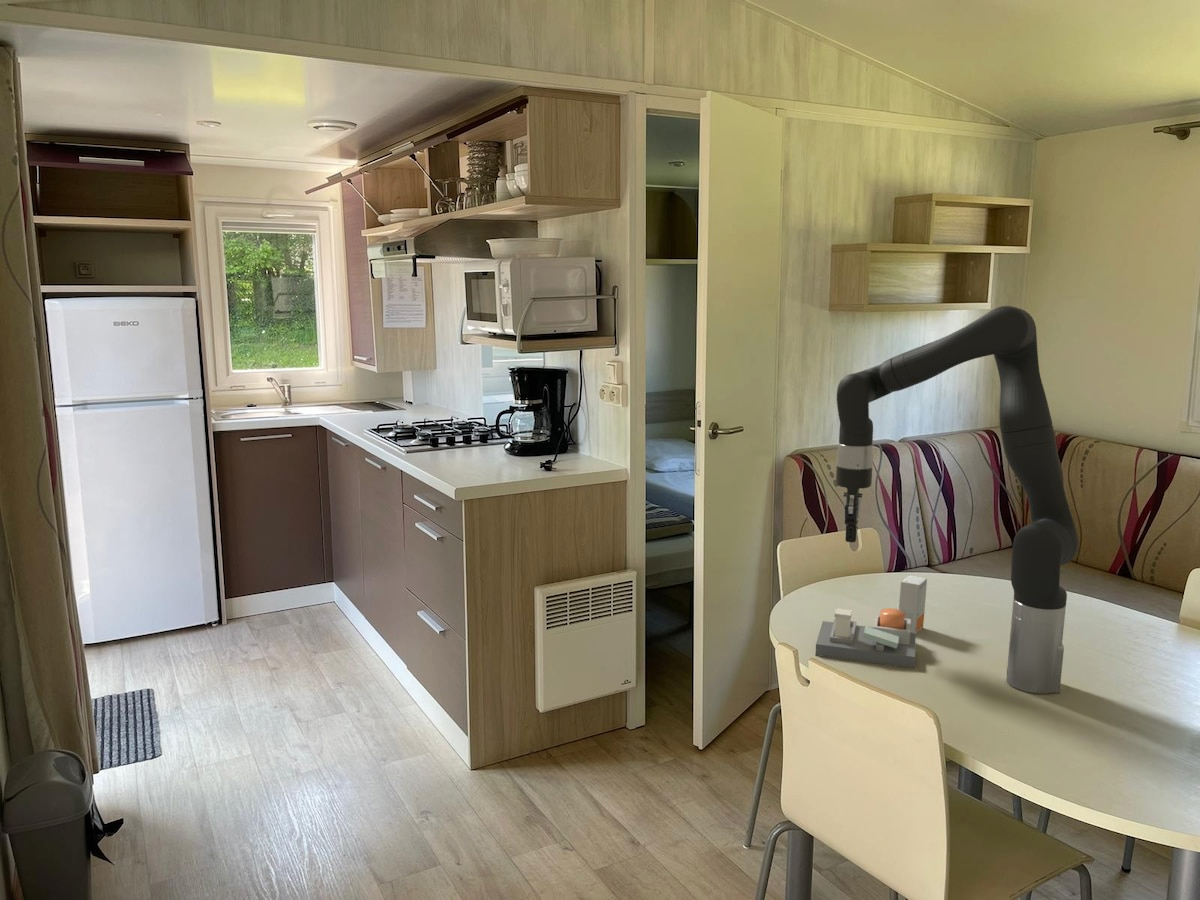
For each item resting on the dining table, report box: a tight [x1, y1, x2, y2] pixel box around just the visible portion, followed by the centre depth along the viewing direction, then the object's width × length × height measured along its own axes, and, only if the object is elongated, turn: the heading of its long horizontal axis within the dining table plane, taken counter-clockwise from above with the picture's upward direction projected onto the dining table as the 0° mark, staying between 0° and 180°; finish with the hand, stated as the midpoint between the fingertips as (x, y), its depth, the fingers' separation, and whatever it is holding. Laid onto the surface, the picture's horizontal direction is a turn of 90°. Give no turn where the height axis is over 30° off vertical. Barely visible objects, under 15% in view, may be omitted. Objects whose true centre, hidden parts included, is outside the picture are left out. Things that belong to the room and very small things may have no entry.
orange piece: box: [880, 607, 905, 629], centre depth 194 cm, size 5×5×5 cm
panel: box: [815, 614, 917, 669], centre depth 194 cm, size 20×14×6 cm
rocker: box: [863, 625, 899, 649], centre depth 189 cm, size 7×4×1 cm, turn 71°
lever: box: [834, 608, 853, 638], centre depth 193 cm, size 3×3×6 cm
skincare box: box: [898, 575, 928, 634], centre depth 204 cm, size 6×4×12 cm
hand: (850, 541), depth 197 cm, fingers closed
